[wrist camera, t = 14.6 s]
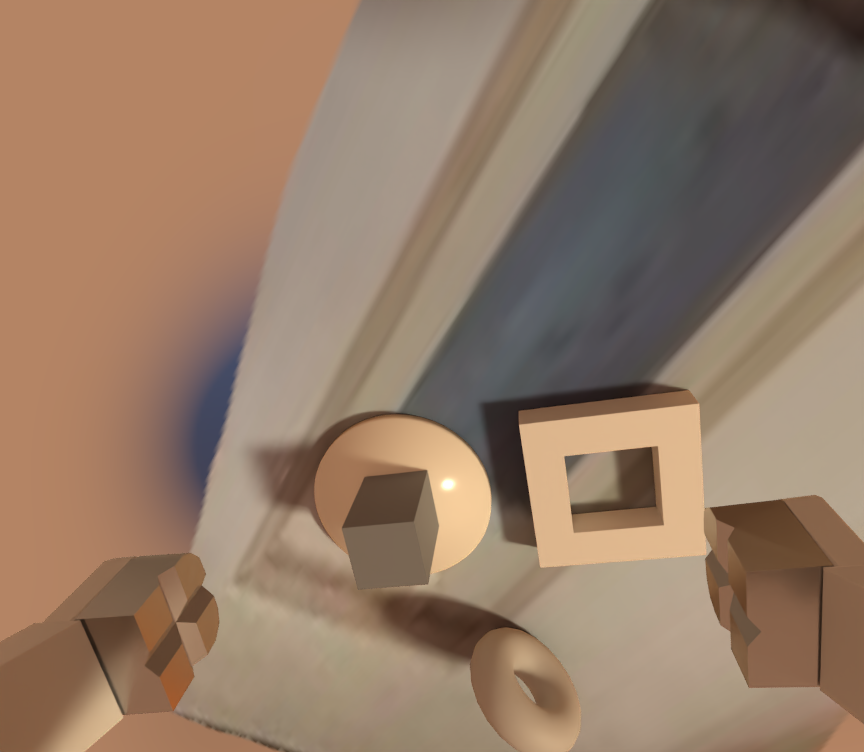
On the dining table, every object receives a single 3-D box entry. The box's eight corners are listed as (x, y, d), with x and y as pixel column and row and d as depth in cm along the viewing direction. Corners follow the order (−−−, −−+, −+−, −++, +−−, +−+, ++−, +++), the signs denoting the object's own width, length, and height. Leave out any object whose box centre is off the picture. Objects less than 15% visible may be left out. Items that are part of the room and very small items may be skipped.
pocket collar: (688, 390, 43) (699, 403, 41) (696, 534, 47) (706, 554, 45) (518, 410, 45) (518, 424, 43) (539, 547, 49) (540, 567, 47)
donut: (465, 622, 53) (455, 723, 43) (490, 597, 51) (485, 695, 42) (557, 683, 54) (567, 795, 44) (583, 660, 53) (599, 770, 43)
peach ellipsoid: (476, 403, 46) (475, 408, 45) (503, 561, 50) (503, 569, 49) (298, 425, 48) (294, 431, 47) (339, 574, 52) (336, 581, 52)
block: (427, 469, 47) (414, 521, 40) (439, 525, 48) (428, 584, 42) (364, 476, 48) (341, 528, 41) (378, 531, 49) (357, 589, 43)
